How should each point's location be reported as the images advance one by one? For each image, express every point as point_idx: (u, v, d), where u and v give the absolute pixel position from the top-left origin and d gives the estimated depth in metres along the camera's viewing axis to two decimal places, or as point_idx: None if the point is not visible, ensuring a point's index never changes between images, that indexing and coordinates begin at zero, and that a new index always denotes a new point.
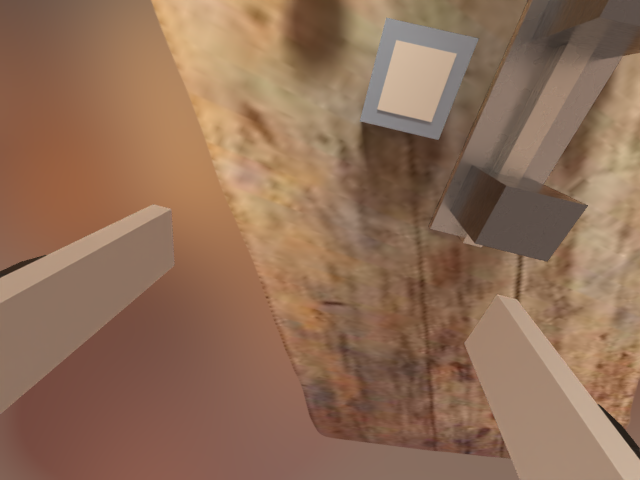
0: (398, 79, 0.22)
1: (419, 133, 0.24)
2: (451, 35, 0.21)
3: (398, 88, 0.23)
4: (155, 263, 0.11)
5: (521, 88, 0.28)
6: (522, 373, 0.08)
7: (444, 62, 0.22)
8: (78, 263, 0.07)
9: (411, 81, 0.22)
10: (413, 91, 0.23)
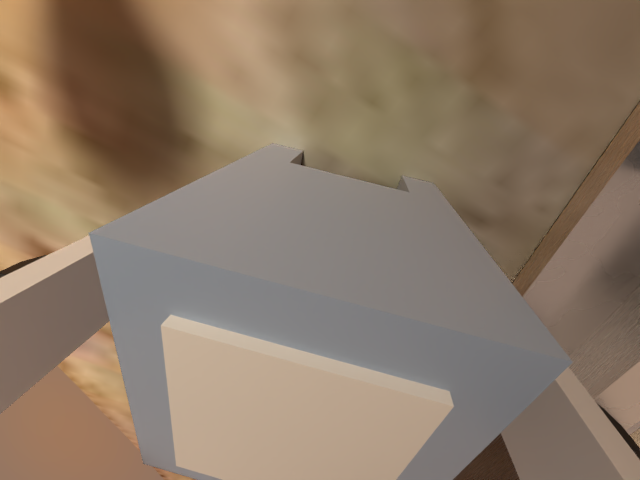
0: (216, 424, 0.06)
1: None
2: (425, 333, 0.04)
3: (226, 442, 0.06)
4: None
5: (618, 272, 0.11)
6: None
7: (395, 419, 0.05)
8: (78, 263, 0.07)
9: (268, 437, 0.06)
10: (283, 458, 0.06)
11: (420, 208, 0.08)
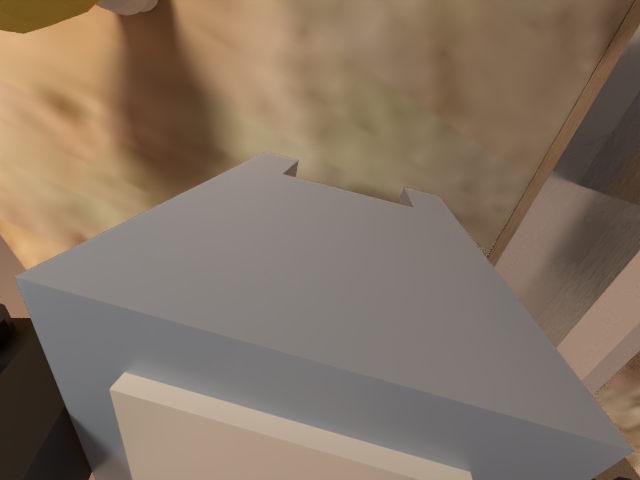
0: None
1: None
2: (442, 408, 0.03)
3: None
4: None
5: (557, 258, 0.14)
6: None
7: None
8: None
9: None
10: None
11: (426, 228, 0.07)
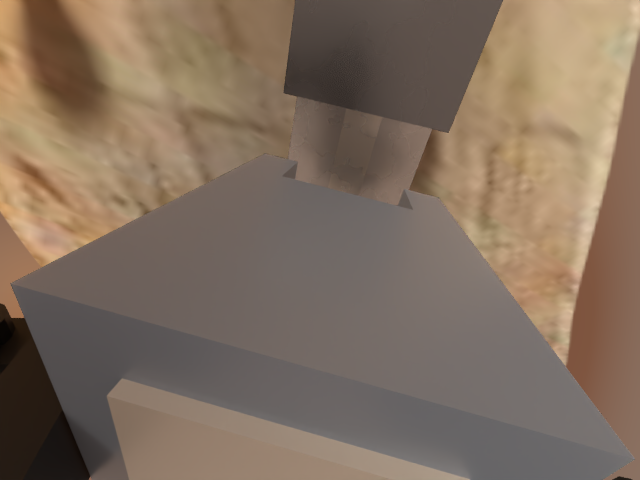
0: None
1: None
2: (441, 416, 0.03)
3: None
4: None
5: (323, 152, 0.21)
6: None
7: None
8: None
9: None
10: None
11: (425, 231, 0.07)
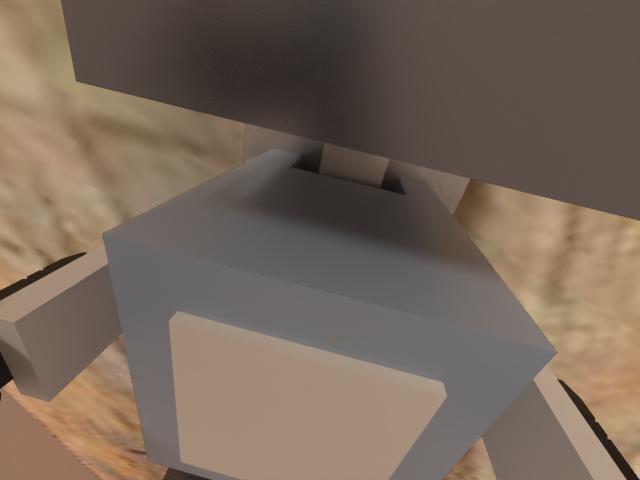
0: (221, 418, 0.06)
1: None
2: (418, 326, 0.04)
3: (230, 437, 0.06)
4: None
5: None
6: None
7: (392, 409, 0.05)
8: None
9: (271, 431, 0.06)
10: (285, 451, 0.06)
11: (416, 211, 0.09)
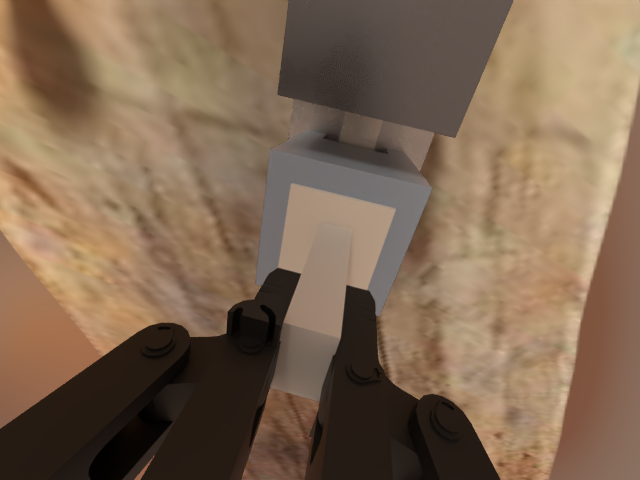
0: (303, 238, 0.13)
1: None
2: (384, 181, 0.12)
3: (305, 250, 0.14)
4: None
5: None
6: None
7: (376, 220, 0.12)
8: None
9: None
10: None
11: (392, 159, 0.16)
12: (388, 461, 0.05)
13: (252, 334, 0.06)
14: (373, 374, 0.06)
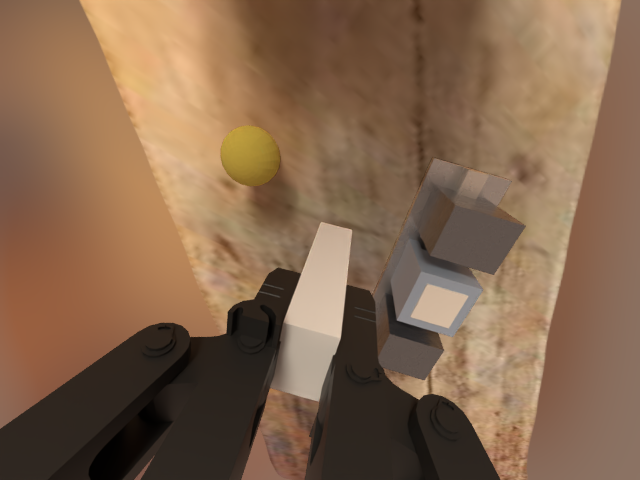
0: (426, 303, 0.32)
1: (439, 332, 0.34)
2: (465, 285, 0.31)
3: (426, 308, 0.32)
4: None
5: None
6: None
7: (459, 299, 0.31)
8: None
9: (436, 306, 0.32)
10: (437, 311, 0.32)
11: (458, 264, 0.35)
12: (388, 461, 0.05)
13: (252, 334, 0.06)
14: (373, 374, 0.06)
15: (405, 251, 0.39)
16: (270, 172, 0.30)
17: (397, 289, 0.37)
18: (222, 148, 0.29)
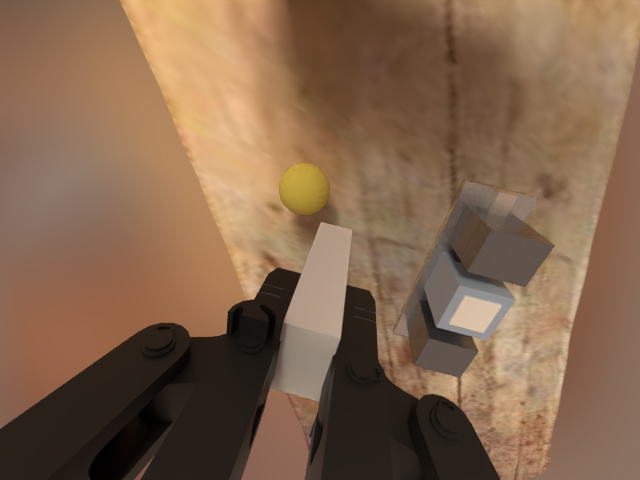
0: (464, 312, 0.36)
1: (474, 336, 0.38)
2: (499, 296, 0.35)
3: (463, 316, 0.37)
4: None
5: None
6: None
7: (494, 308, 0.35)
8: None
9: (472, 314, 0.36)
10: (473, 318, 0.37)
11: None
12: (388, 461, 0.05)
13: (252, 334, 0.06)
14: (373, 374, 0.06)
15: (439, 262, 0.43)
16: (323, 203, 0.35)
17: (434, 298, 0.41)
18: (282, 185, 0.34)
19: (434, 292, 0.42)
